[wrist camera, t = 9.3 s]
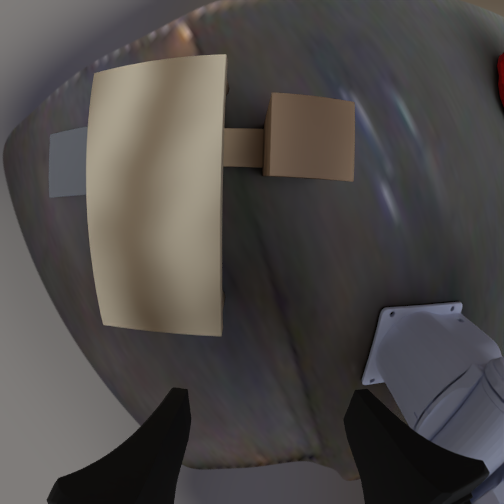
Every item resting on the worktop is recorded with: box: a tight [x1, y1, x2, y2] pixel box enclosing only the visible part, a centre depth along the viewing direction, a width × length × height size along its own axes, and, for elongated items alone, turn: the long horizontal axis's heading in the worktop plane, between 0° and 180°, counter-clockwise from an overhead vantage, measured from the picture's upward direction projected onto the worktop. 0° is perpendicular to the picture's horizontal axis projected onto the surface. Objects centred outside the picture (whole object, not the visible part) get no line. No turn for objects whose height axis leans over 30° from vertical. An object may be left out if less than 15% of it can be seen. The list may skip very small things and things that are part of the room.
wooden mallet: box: [223, 93, 355, 182], centre depth 13 cm, size 15×4×7 cm, turn 88°
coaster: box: [49, 126, 88, 198], centre depth 17 cm, size 5×5×1 cm
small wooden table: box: [86, 55, 229, 336], centre depth 16 cm, size 8×16×4 cm, turn 178°
